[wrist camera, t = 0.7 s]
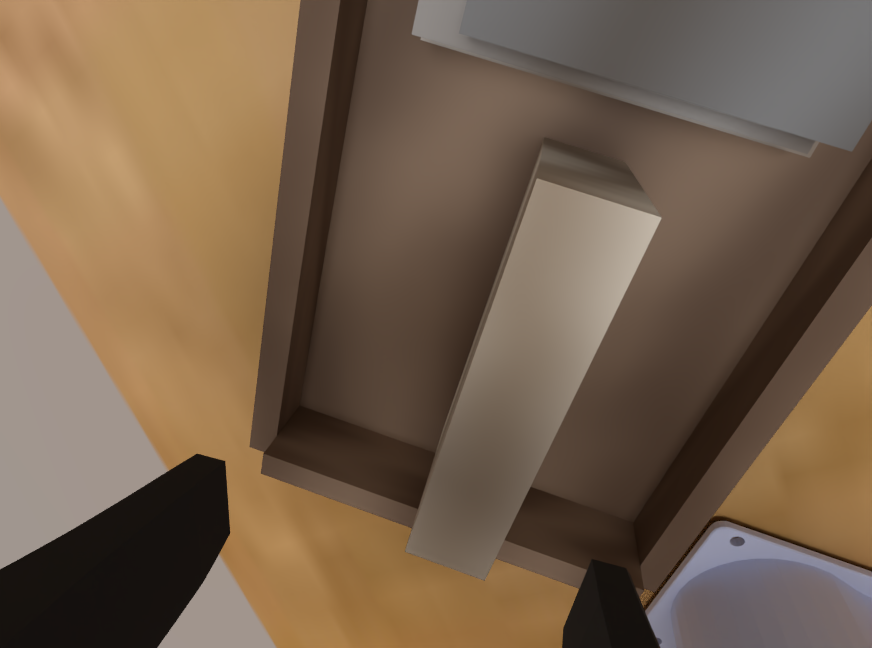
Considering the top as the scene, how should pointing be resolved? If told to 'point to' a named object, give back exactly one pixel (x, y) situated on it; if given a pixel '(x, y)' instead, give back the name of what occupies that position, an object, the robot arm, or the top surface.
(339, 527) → the top surface
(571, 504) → the walnut tray
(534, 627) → the top surface
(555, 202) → the grey rectangular block
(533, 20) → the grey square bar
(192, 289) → the top surface
